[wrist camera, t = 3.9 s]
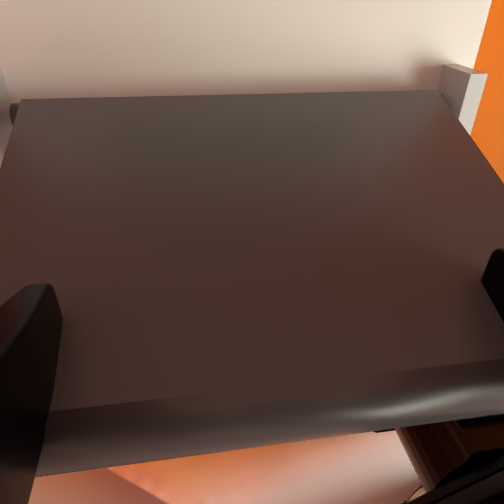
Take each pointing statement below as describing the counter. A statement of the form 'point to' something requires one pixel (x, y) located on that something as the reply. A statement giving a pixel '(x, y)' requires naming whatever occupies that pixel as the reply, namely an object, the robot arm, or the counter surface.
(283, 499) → the counter surface
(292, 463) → the counter surface
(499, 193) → the lever
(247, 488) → the counter surface
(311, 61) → the switch plate
